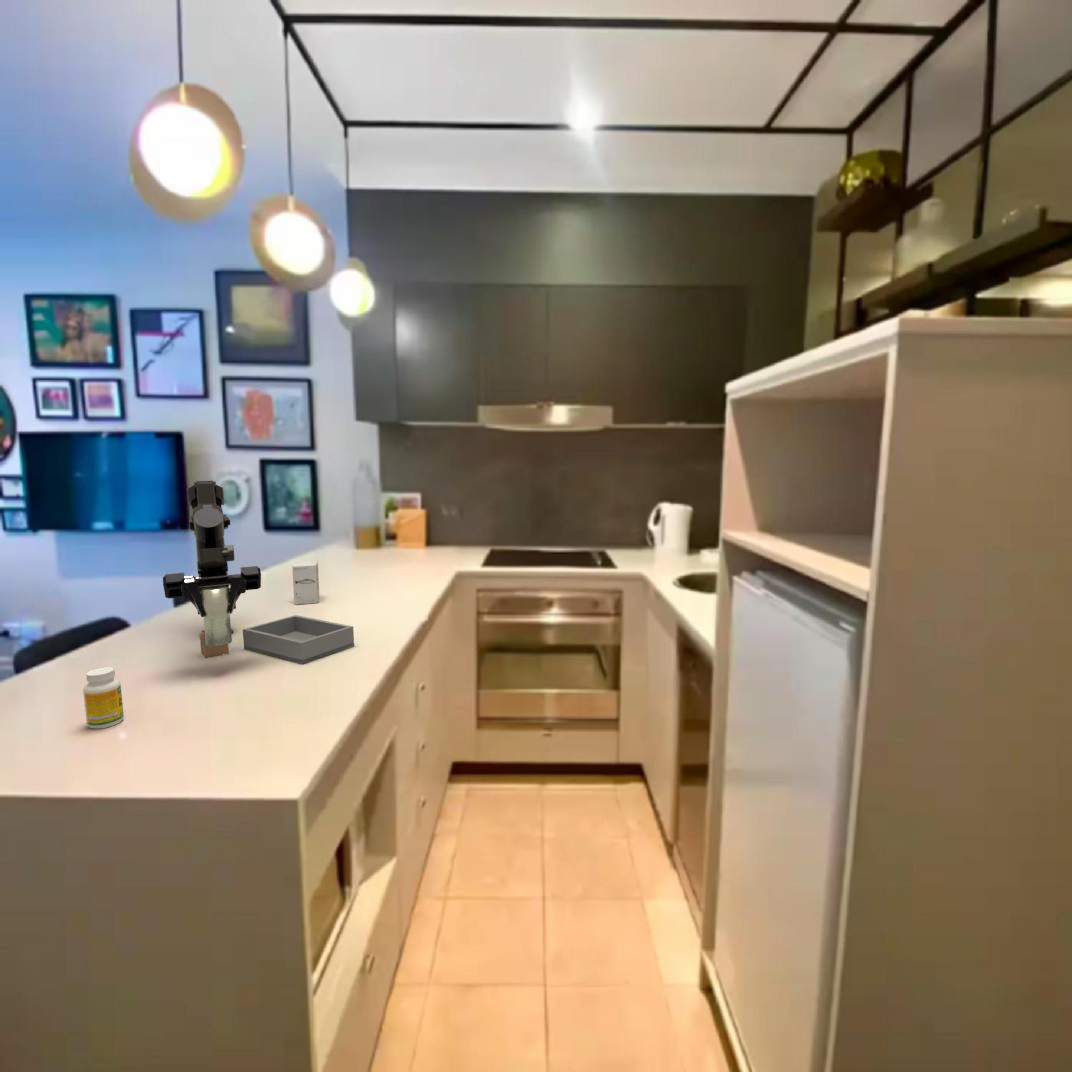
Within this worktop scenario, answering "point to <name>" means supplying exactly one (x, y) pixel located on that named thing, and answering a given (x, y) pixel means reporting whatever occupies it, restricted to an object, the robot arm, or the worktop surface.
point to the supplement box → (305, 582)
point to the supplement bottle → (103, 698)
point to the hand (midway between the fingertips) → (216, 614)
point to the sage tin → (216, 615)
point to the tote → (298, 638)
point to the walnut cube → (212, 648)
